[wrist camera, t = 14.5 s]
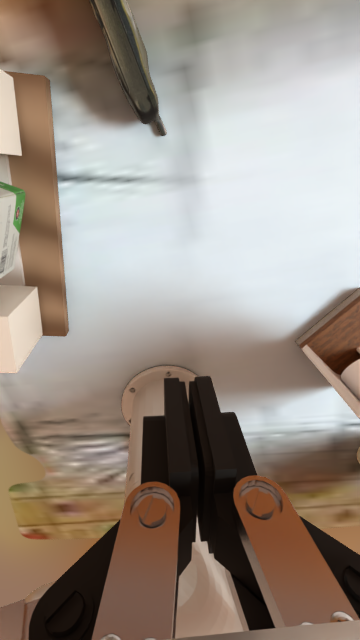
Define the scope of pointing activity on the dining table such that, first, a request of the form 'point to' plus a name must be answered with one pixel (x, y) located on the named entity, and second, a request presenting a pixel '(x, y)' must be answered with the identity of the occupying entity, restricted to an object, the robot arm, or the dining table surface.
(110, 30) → the mobile phone
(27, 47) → the dining table surface
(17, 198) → the ink box
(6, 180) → the rail board
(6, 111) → the mounted modules
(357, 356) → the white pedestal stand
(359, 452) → the reusable coffee cup
